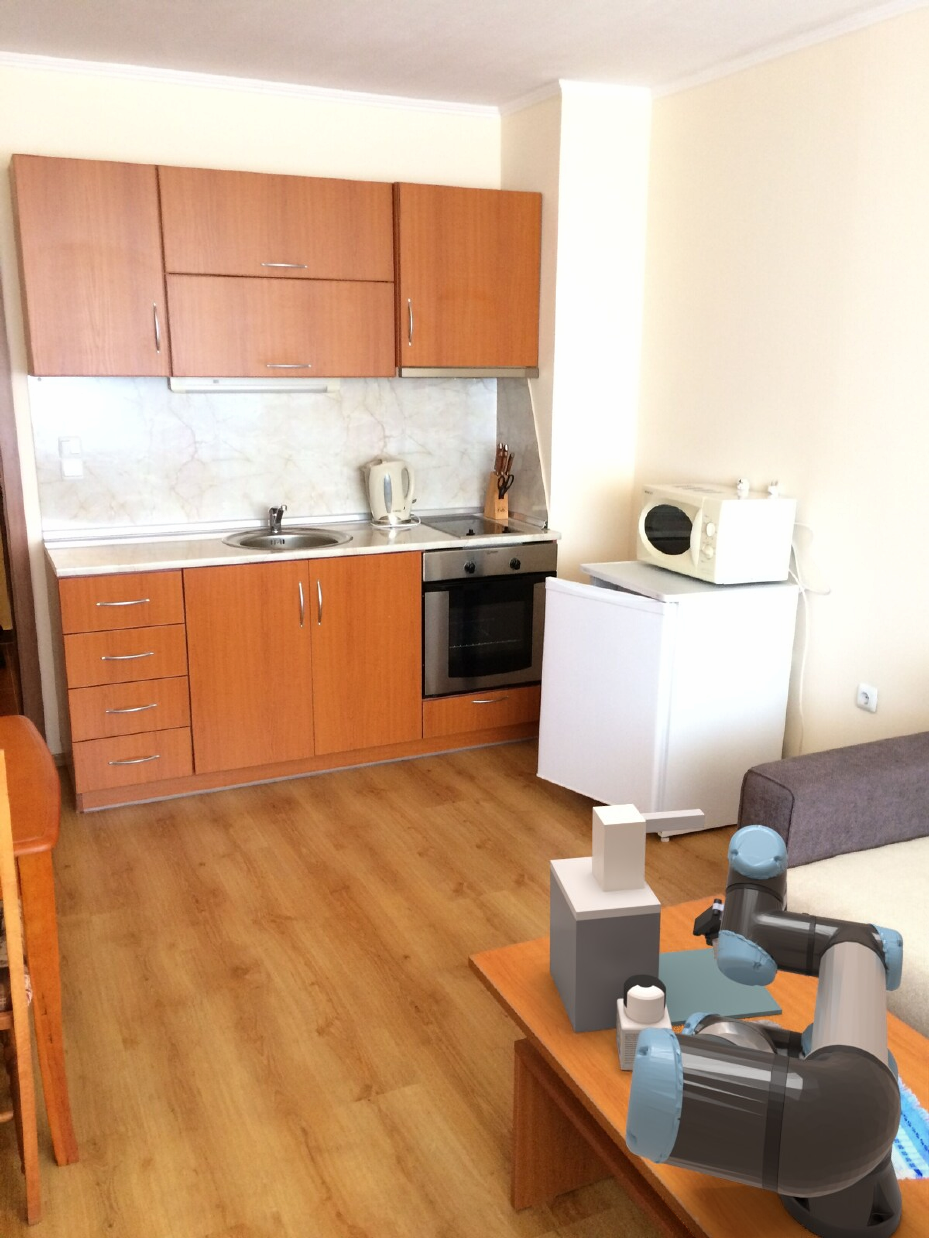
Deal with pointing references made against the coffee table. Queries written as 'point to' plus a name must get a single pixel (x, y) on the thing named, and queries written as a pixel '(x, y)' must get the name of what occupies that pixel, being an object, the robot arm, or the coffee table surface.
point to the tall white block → (630, 841)
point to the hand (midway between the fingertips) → (762, 959)
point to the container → (639, 1014)
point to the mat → (708, 989)
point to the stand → (598, 942)
